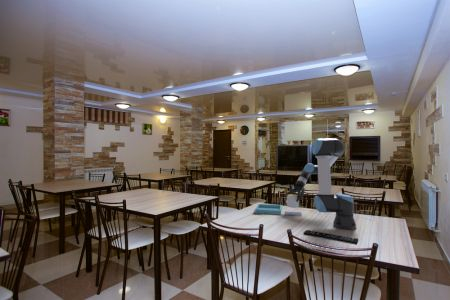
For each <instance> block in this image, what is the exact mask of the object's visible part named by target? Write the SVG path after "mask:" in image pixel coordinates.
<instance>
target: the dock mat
mask: <svg viewBox="0 0 450 300" xmlns="http://www.w3.org/2000/svg"><path fill="white" fill-rule="evenodd" d="M287 216H288V217H303V215H302V212H300V211H284V217H287Z"/></svg>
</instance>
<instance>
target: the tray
mask: <svg viewBox="0 0 450 300" xmlns="http://www.w3.org/2000/svg"><path fill="white" fill-rule="evenodd" d="M282 209H283V206H282V204H268V203H266V204H265V203H257V205H256V207H255V209H254V210H255V211H254V213H255V215H278V216H279V215H280V216H281V215H282Z"/></svg>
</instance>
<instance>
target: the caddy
mask: <svg viewBox="0 0 450 300" xmlns="http://www.w3.org/2000/svg"><path fill="white" fill-rule="evenodd" d="M296 197H297V198H298V194H295V193H294V194H290V195H287V194H286V201H287V203H286V205H287V206H286V207H287V208H292V209H295V208H299V207H300V200H299V201H298V202H297V203H296V205H294V201H295V199H296Z"/></svg>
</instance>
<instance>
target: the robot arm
mask: <svg viewBox="0 0 450 300" xmlns="http://www.w3.org/2000/svg"><path fill="white" fill-rule="evenodd" d="M345 147H346V146H345V143H344V142H343V141H342V140H340V139H338V138H316V139H314V141H313V143H312V145H311V152H312V154H313V155H315V156H314V157H315V158H316V159H317V164H313V163H307V164H306V165H305V166H304V167H303V169H302V170H301V173H300V175H299V177H298V179H297V180H296V183H295V186H291V187H290V189H289V191H288V192H287V193H286V196H287V195H290V194H294V195H295V193H297V195H298V198H297V197H296V199H295V201H294V205H296V203H297V202H298V201H299V202H300V200H302V199H303V197H304V194H305V192H306V188H305V186H306V184H307V182H308V180H309V178H310V176H311V175H317V177H318V178H317V179H318V192H317V193H316V196H314V199H313V202H314V207H315V209H316V211H318V212H319V213H325V214H326V213H335V216H334V219H333V224H332V225H333V227H335V228H337V229H340V230H341V229H342V230H356V229H357V224H356V220H355V218H354V203H355V202H354V197H353V196H351V195H348V194H344V193H335V194H334V193H333V191H332V180H331V179H332V177H331V176H332V175H331V174H332V173H331V167H332V166H333V165H334V163H335V162H336V161H337V159H339V158H340V157H341V156H343V155H344V153H345V149H346V148H345ZM285 203H286V204H287V200H286V201H285Z"/></svg>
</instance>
